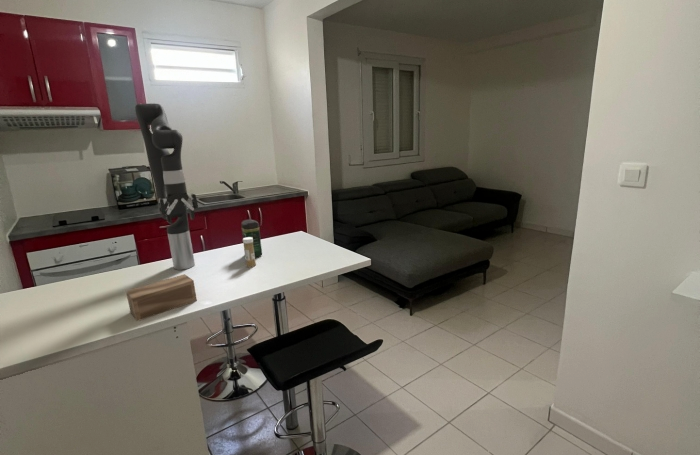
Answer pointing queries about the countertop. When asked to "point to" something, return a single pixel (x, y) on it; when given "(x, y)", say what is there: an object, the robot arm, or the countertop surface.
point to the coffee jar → (252, 235)
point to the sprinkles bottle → (249, 251)
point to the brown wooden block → (161, 296)
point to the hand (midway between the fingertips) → (181, 221)
